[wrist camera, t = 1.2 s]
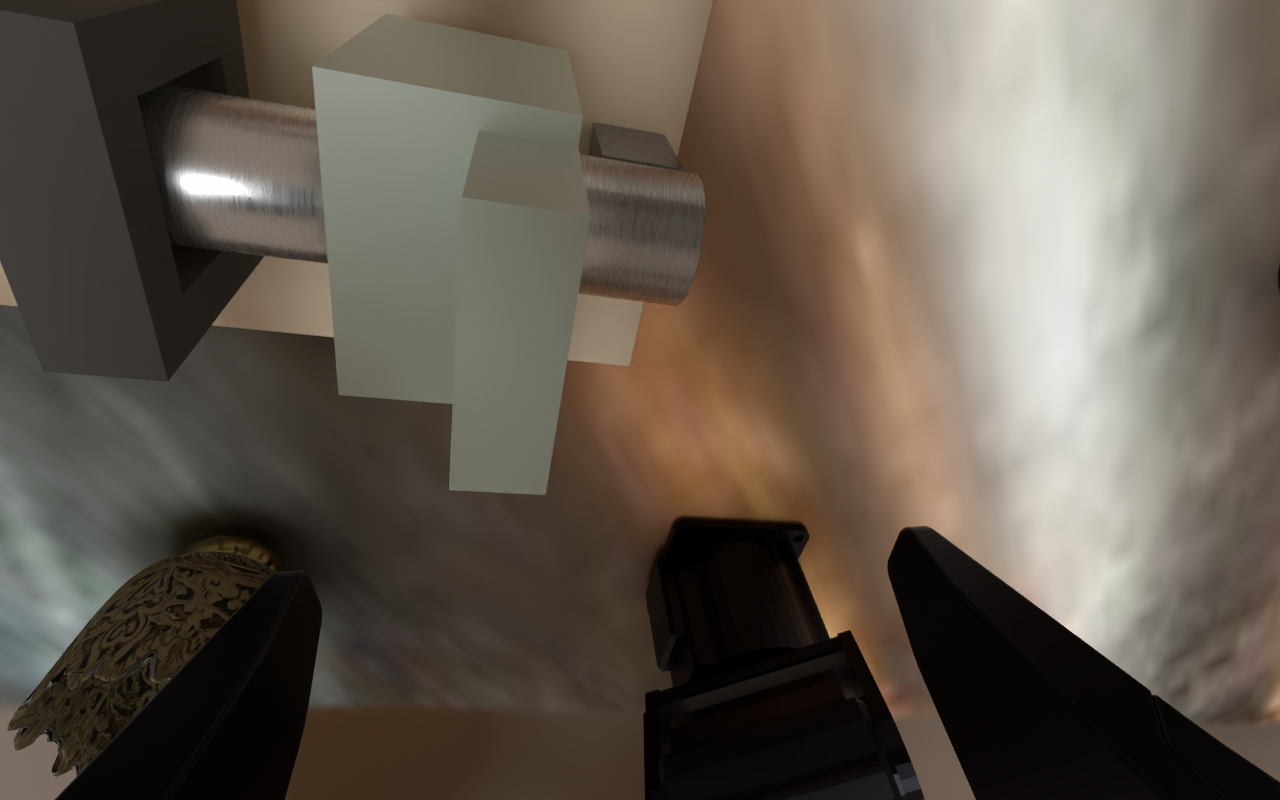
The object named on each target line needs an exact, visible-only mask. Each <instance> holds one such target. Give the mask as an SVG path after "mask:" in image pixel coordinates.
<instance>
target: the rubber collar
mask: <svg viewBox="0 0 1280 800" xmlns="http://www.w3.org/2000/svg"><path fill="white" fill-rule="evenodd" d="M162 84H167V85H173V86H179V87H184V88H190V89H196V90H202V91H208V92H214V93H220V94H226V95H232V96H238V97H244V98H249V90H248V83H247V75H246V68H245V61H244V53H243V46H242V38H241V31H240V23H239V16H238V9H237V1H236V0H0V262H1V265H2V267H3V270H4V272H5V275H6V277H7V280H8V282H9V285H10V287H11V290H12V292H13V295H14V298H15V300H16V303H17V305H18V308H19V310H20V313H21V315H22V318H23V320H24V323H25V325H26V328H27V331H28V333H29V336H30V338H31V341H32V343H33V346H34V348H35V351H36V353H37V356H38V359H39V361H40V364H41V366H42V369H43V371H45V372H58V373H70V374H83V375H95V376H108V377H120V378H133V379H145V380H158V381H169V379H170V378H171V377H172V375H173V374H174V373H175V372H176V370H177V369H178V368H179V366H180V365H181V364H182V363H183V361H184V360H185V359H186V357H187V356H188V355H189V353H190V352H191V351H192V350H193V348H194V347H195V346H196V344H197V343H198V342H199V341H200V339H201V338H202V337H203V335H204V334H205V333H206V331H207V330H208V329H209V328H210V326H211V325H212V324H213V322H214V321H215V320H216V318H217V317H218V316H219V315H220V313H221V312H222V311H223V309H224V308H225V307H226V306H227V304H228V303H229V302H230V300H231V299H232V298H233V296H234V295H235V294H236V293H237V291H238V290H239V289H240V287H241V286H242V285H243V283H244V282H245V281H246V280H247V278H248V277H249V276H250V274H251V273H252V272H253V271H254V269H255V268H256V267H257V265H258V264H259V263H260V261H261V260H262V259H263V258H264V256H260V255H252V254H244V253H236V252H227V251H219V250H211V249H203V248H194V247H186V246H178V245H171V243H170V238H169V234H168V230H167V225H166V221H165V216H164V212H163V208H162V203H161V199H160V194H159V190H158V186H157V181H156V177H155V172H154V168H153V164H152V159H151V155H150V150H149V146H148V142H147V137H146V133H145V128H144V124H143V120H142V115H141V111H140V106H139V102H138V98H137V96H139V95H141V94H143V93H145V92H148V91H150V90H152V89H154V88H156V87H158V86H160V85H162Z"/></svg>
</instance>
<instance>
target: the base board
mask: <svg viewBox="0 0 1280 800" xmlns="http://www.w3.org/2000/svg"><path fill="white" fill-rule="evenodd" d="M236 1H237V9H238V16H239V23H240V31H241V38H242V46H243V53H244V61H245V68H246V75H247V83H248V90H249V98H250V99H256V100H261V101H267V102H273V103H279V104H285V105H291V106H297V107H303V108H309V109H315V96H314V84H313V72H312V66H313V65H315V64H316V63H318V62H319V61H320V60H322V59H323V58H325V57H326V56H327V55H329V54H330V53H332V52H333V51H334V50H336V49H337V48H339V47H340V46H341V45H343V44H344V43H345V42H347V41H348V40H350V39H351V38H352V37H354V36H355V35H357V34H358V33H359V32H361V31H362V30H364V29H365V28H366V27H368V26H369V25H371V24H372V23H373V22H375V21H376V20H377V19H379V18H380V17H382V16H383V15H384V14H391V15H396V16H401V17H406V18H410V19H415V20H420V21H425V22H430V23H435V24H440V25H445V26H450V27H455V28H460V29H465V30H469V31H474V32H479V33H484V34H489V35H494V36H499V37H504V38H509V39H514V40H519V41H524V42H528V43H533V44H538V45H543V46H548V47H553V48H558V49H563V50H568V54H569V58H570V63H571V67H572V71H573V76H574V80H575V84H576V88H577V93H578V97H579V101H580V106H581V110H582V114H583V119H582V126H581V133H580V140H579V147H578V148H579V154H581V155H587V156H588V153H589V146H590V140H591V133H592V127H593V122H597V123H603V124H608V125H614V126H619V127H625V128H630V129H636V130H641V131H647V132H652V133H658V134H664V135H665V136H666V138H667V140H668V142H669V143H670V145H671V147H672V149H673V150H674V152H675V154H676V156H677V157H678V152H679V148H680V144H681V139H682V135H683V130H684V126H685V122H686V117H687V113H688V109H689V104H690V100H691V96H692V91H693V87H694V83H695V78H696V74H697V69H698V65H699V61H700V56H701V52H702V48H703V43H704V39H705V35H706V30H707V26H708V22H709V17H710V13H711V8H712V4H713V0H236ZM315 110H316V109H315ZM0 305H9V306H18V305H17V303H16V300H15V298H14V295H13V292H12V290H11V287H10V285H9V282H8V280H7V277H6V275H5V272H4V270H3V267H2V265H1V262H0ZM643 305H644V302H641V301H633V300H624V299H616V298H608V297H600V296H591V295H583V294H578V299H577V305H576V311H575V317H574V323H573V330H572V336H571V342H570V348H569V354H568V360H571V361H582V362H592V363H602V364H612V365H622V366H630V362H631V357H632V353H633V348H634V344H635V340H636V335H637V331H638V327H639V322H640V318H641V314H642V309H643ZM212 325H214V326H224V327H234V328H244V329H255V330H265V331H275V332H285V333H295V334H306V335H316V336H326V337H334V331H333V318H332V306H331V294H330V281H329V269H328V264H327V263H318V262H310V261H302V260H294V259H285V258H277V257H269V256H264V258H263V259H262V260H261V261H260V263H259V264H258V265H257V267H256V268H255V269H254V271H253V272H252V273H251V274H250V276H249V277H248V278H247V280H246V281H245V282H244V283H243V285H242V286H241V287H240V289H239V290H238V291H237V293H236V294H235V295H234V296H233V298H232V299H231V300H230V302H229V303H228V304H227V306H226V307H225V308H224V309H223V311H222V312H221V313H220V315H219V316H218V317H217V318H216V320H215V321H214V322H213V324H212Z"/></svg>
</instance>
